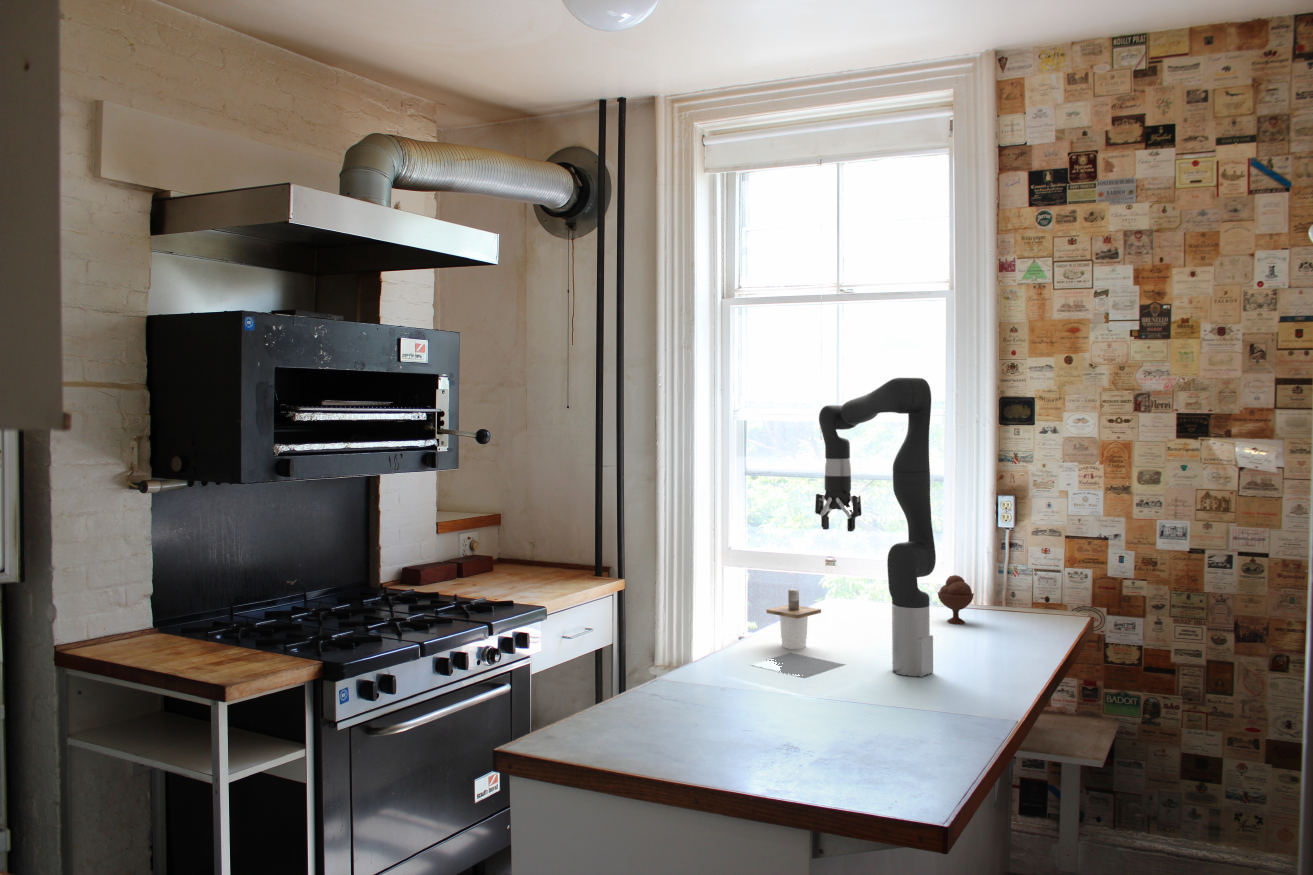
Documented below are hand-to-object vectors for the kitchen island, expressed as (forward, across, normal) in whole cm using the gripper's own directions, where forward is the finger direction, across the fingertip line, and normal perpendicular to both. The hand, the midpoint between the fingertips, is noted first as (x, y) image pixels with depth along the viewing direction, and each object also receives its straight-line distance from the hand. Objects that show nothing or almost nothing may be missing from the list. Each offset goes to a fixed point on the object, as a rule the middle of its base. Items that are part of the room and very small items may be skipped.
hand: (838, 530), depth 255 cm
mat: (+33, -6, +28) cm, 44 cm away
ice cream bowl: (+33, -10, -51) cm, 62 cm away
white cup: (+33, +7, +12) cm, 36 cm away
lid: (+23, +7, +12) cm, 27 cm away
